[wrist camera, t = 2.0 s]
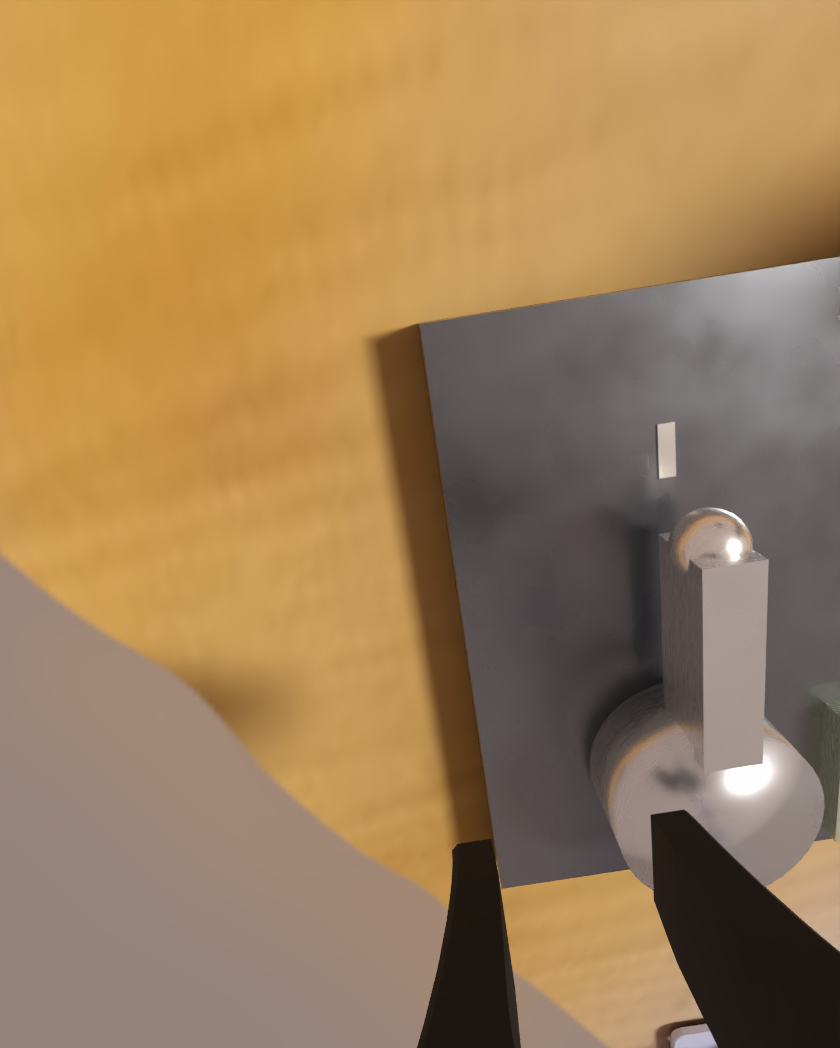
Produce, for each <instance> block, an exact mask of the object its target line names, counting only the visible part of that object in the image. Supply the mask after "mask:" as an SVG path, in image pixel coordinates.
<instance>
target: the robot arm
mask: <svg viewBox="0 0 840 1048" xmlns="http://www.w3.org/2000/svg"><path fill="white" fill-rule="evenodd" d="M650 816H651V840H652V863H653V887H654V901H655V904H656V907H657V910H658V912H659V915H660V918H661V921H662V923H663V926H664V929H665V932H666V934H667V937H668V940H669V942H670V945H671V948H672V950H673V953H674V955H675V958H676V961H677V963H678V965H679V968H680V970H681V972H682V974H683V976H684V978H685V980H686V982H687V984H688V986H689V989H690V991H691V993H692V995H693V997H694V999H695V1001H696V1003H697V1005H698V1007H699V1009H700V1011H701V1013H702V1015H703V1018H704V1020H705V1022H706V1024H700V1025H694V1026H687V1027H680V1028H677V1029H675V1030H674V1031H673V1032H672V1033H671V1036H670V1047H671V1048H840V952H839V951H838V950H837V949H836V948H834V947H833V946H832V945H831V944H830V943H828V942H827V941H826V940H825V939H824V938H822V937H821V936H820V935H819V934H818V933H817V932H815V931H814V930H813V929H812V928H811V927H810V926H808V925H807V924H806V923H805V922H804V921H803V920H801V919H800V918H799V917H798V916H797V915H796V914H795V913H794V912H793V911H791V910H790V909H789V908H788V907H787V906H786V905H785V904H784V903H782V902H781V901H780V900H779V899H778V898H777V897H776V896H775V895H774V894H772V893H771V892H770V891H769V890H768V889H767V888H766V887H765V886H764V885H763V884H761V883H760V882H759V881H758V880H757V879H756V878H755V877H754V876H753V875H752V874H751V873H750V872H749V871H748V870H747V869H746V868H744V867H743V866H742V865H741V864H740V863H739V862H738V861H737V860H736V859H735V858H734V857H733V856H732V855H731V854H730V853H729V852H728V851H727V850H726V849H725V848H724V847H723V846H722V845H721V844H720V843H719V842H718V841H717V840H716V839H715V838H714V837H713V836H712V835H711V834H710V833H709V832H708V831H707V830H706V829H705V828H704V827H703V826H702V825H701V824H700V823H699V822H698V821H697V820H696V819H695V818H694V817H693V816H692V815H691V814H690V813H688V812H687V811H686V810H677V811H671V812H664V813H658V814H651V815H650ZM452 855H453V868H452V884H451V893H450V901H449V908H448V916H447V922H446V927H445V933H444V938H443V944H442V949H441V954H440V960H439V964H438V969H437V973H436V977H435V981H434V985H433V989H432V993H431V997H430V1001H429V1006H428V1010H427V1014H426V1018H425V1022H424V1025H423V1029H422V1032H421V1036H420V1039H419V1043H418V1046H417V1048H521V1045H520V1034H519V1025H518V1015H517V1004H516V994H515V985H514V978H513V972H512V965H511V958H510V951H509V944H508V937H507V930H506V923H505V917H504V910H503V903H502V896H501V889H500V882H499V875H498V870H497V865H496V860H495V856H494V851H493V846H492V841H491V839H488V840H481V841H474V842H468V843H461V844H457V845H456V847H455V848H454V849H453V850H452Z"/></svg>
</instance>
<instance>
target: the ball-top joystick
mask: <svg viewBox="0 0 840 1048" xmlns="http://www.w3.org/2000/svg"><path fill="white" fill-rule="evenodd" d="M659 558H660V590H661V621H662V653H663V682H662V683H659V684H656V685H653V686H650V687H648V688H646V689H644V690H641V691H640V692H638V693H636V694H635V695H633V696H631V697H630V698H628V699H627V700H626V701H624V702H623V703H622V704H620V705H619V706H618V707H617V708H616V709H615V710H614V711H613V712H612V713H611V714H610V715H609V717H608V718H607V719H606V720H605V721H604V723H603V725H602V726H601V728H600V729H599V731H598V733H597V735H596V737H595V739H594V742H593V745H592V749H591V754H590V775H591V780H592V783H593V786H594V788H595V791H596V793H597V795H598V798H599V800H600V802H601V805H602V807H603V809H604V812H605V814H606V816H607V819H608V821H609V824H610V826H611V828H612V831H613V833H614V835H615V838H616V840H617V842H618V845H619V847H620V849H621V852H622V854H623V856H624V859H625V861H626V863H627V864H628V866H629V868H630V870H631V871H632V872H633V873H634V875H635V876H636V877H637V878H638V879H639V880H640V881H641V882H642V883H643V884H645V885H646V886H648V887H649V888H651V889H652V890H654V887H653V863H652V840H651V816H650V815H651V814H658V813H664V812H671V811H677V810H686V811H687V812H688V813H690V814H691V815H692V816H693V817H694V818H695V819H696V820H697V821H698V822H699V823H700V824H701V825H702V826H703V827H704V828H705V829H706V830H707V831H708V832H709V833H710V834H711V835H712V836H713V837H714V838H715V839H716V840H717V841H718V842H719V843H720V844H721V845H722V846H723V847H724V848H725V849H726V850H727V851H728V852H729V853H730V854H731V855H732V856H733V857H734V858H735V859H736V860H737V861H738V862H739V863H740V864H741V865H742V866H743V867H744V868H746V869H747V870H748V871H749V872H750V873H751V874H752V875H753V876H754V877H755V878H756V879H757V880H758V881H759V882H760V883H761V884H763V885H764V886H767V885H769V884H771V883H773V882H774V881H776V880H777V879H779V878H780V877H782V876H783V875H784V874H786V873H787V872H788V871H789V870H791V869H792V868H793V867H794V866H795V865H796V864H797V863H798V862H799V861H800V860H801V859H802V857H803V856H804V855H805V854H806V853H807V851H808V850H809V848H810V847H811V845H812V844H813V842H814V841H815V838H816V836H817V834H818V832H819V830H820V827H821V823H822V820H823V814H824V794H823V789H822V785H821V783H820V780H819V778H818V776H817V774H816V773H815V771H814V769H813V768H812V767H811V766H810V764H809V763H808V762H807V761H806V760H805V759H804V758H803V757H802V756H801V755H800V753H799V752H798V751H797V750H796V749H795V748H794V747H793V746H792V745H791V744H790V743H789V742H788V741H787V739H786V738H785V737H784V736H783V735H782V734H781V733H780V732H779V731H778V730H777V729H776V728H775V727H774V725H773V724H772V723H771V722H770V721H769V720H768V719H767V718H766V717H765V716H764V706H765V671H766V635H767V600H768V565H769V560H768V559H767V558H765V557H764V556H762V555H761V554H759V553H758V552H756V551H755V550H753V540H752V536H751V533H750V531H749V529H748V527H747V526H746V524H745V523H744V522H743V521H742V520H741V519H740V518H739V517H738V516H736V515H735V514H733V513H731V512H729V511H727V510H724V509H720V508H714V507H707V508H700V509H696V510H693V511H691V512H689V513H687V514H685V515H684V516H683V517H681V518H680V519H679V520H678V521H677V522H676V524H675V525H674V527H673V528H672V530H671V532H669V533H663V534H659Z"/></svg>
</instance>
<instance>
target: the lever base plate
mask: <svg viewBox="0 0 840 1048" xmlns="http://www.w3.org/2000/svg"><path fill="white" fill-rule="evenodd" d="M418 328H419V335H420V342H421V349H422V356H423V363H424V370H425V377H426V383H427V390H428V397H429V404H430V411H431V418H432V425H433V431H434V438H435V445H436V452H437V459H438V466H439V473H440V479H441V486H442V493H443V500H444V507H445V514H446V521H447V527H448V534H449V541H450V548H451V555H452V562H453V569H454V575H455V582H456V589H457V596H458V603H459V610H460V617H461V623H462V630H463V637H464V644H465V651H466V658H467V665H468V671H469V678H470V685H471V692H472V699H473V706H474V713H475V719H476V726H477V733H478V740H479V747H480V754H481V761H482V768H483V774H484V781H485V788H486V795H487V802H488V809H489V816H490V822H491V829H492V836H493V843H494V850H495V856H496V862H497V867H498V872H499V877H500V883H501V888H502V889H503V888H509V887H516V886H522V885H529V884H536V883H542V882H549V881H555V880H562V879H569V878H575V877H582V876H588V875H595V874H601V873H608V872H615V871H621V870H628V869H630V868H629V866H628V864H627V863H626V861H625V859H624V856H623V854H622V852H621V849H620V847H619V845H618V842H617V840H616V838H615V835H614V833H613V831H612V828H611V826H610V824H609V821H608V819H607V816H606V814H605V812H604V809H603V807H602V805H601V802H600V800H599V798H598V795H597V793H596V791H595V788H594V786H593V783H592V780H591V775H590V754H591V749H592V745H593V742H594V739H595V737H596V735H597V733H598V731H599V729H600V728H601V726H602V725H603V723H604V721H605V720H606V719H607V718H608V717H609V715H610V714H611V713H612V712H613V711H614V710H615V709H616V708H617V707H618V706H619V705H620V704H622V703H623V702H624V701H626V700H627V699H628V698H630V697H631V696H633V695H635V694H636V693H638V692H640V691H641V690H644V689H646V688H648V687H650V686H653V685H656V684H659V683H662V682H663V653H662V621H661V590H660V558H659V534H663V533H669V532H671V530H672V528H673V527H674V525H675V524H676V522H677V521H678V520H679V519H680V518H681V517H683V516H684V515H685V514H687V513H689V512H691V511H693V510H696V509H700V508H707V507H714V508H720V509H724V510H727V511H729V512H731V513H733V514H735V515H736V516H738V517H739V518H740V519H741V520H742V521H743V522H744V523H745V524H746V526H747V527H748V529H749V531H750V533H751V536H752V540H753V550H755V551H756V552H758V553H759V554H761V555H762V556H764V557H765V558H767V559H768V560H769V565H768V600H767V635H766V671H765V706H764V716H765V717H766V718H767V719H768V720H769V721H770V722H771V723H772V724H773V725H774V727H775V728H776V729H777V730H778V731H779V732H780V733H781V734H782V735H783V736H784V737H785V738H786V739H787V741H788V742H789V743H790V744H791V745H792V746H793V747H794V748H795V749H796V750H797V751H798V752H799V753H800V755H801V756H802V757H803V758H804V759H805V760H806V761H807V762H808V763H809V764H810V766H811V767H812V768H813V769H814V771H815V773H816V774H817V776H818V778H819V780H820V783H821V785H822V789H823V794H824V814H823V820H822V823H821V827H820V830H819V832H818V834H817V836H816V838H815V841H818V840H825V839H832V838H833V840H834V841H840V256H835V257H829V258H823V259H817V260H810V261H804V262H798V263H792V264H785V265H779V266H773V267H767V268H760V269H754V270H748V271H742V272H735V273H729V274H723V275H717V276H710V277H704V278H698V279H692V280H685V281H679V282H673V283H667V284H660V285H654V286H648V287H642V288H636V289H629V290H623V291H617V292H611V293H604V294H598V295H592V296H586V297H579V298H573V299H567V300H561V301H554V302H548V303H542V304H536V305H529V306H523V307H517V308H511V309H504V310H498V311H492V312H486V313H479V314H473V315H467V316H461V317H454V318H448V319H442V320H436V321H429V322H423V323H418Z"/></svg>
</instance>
